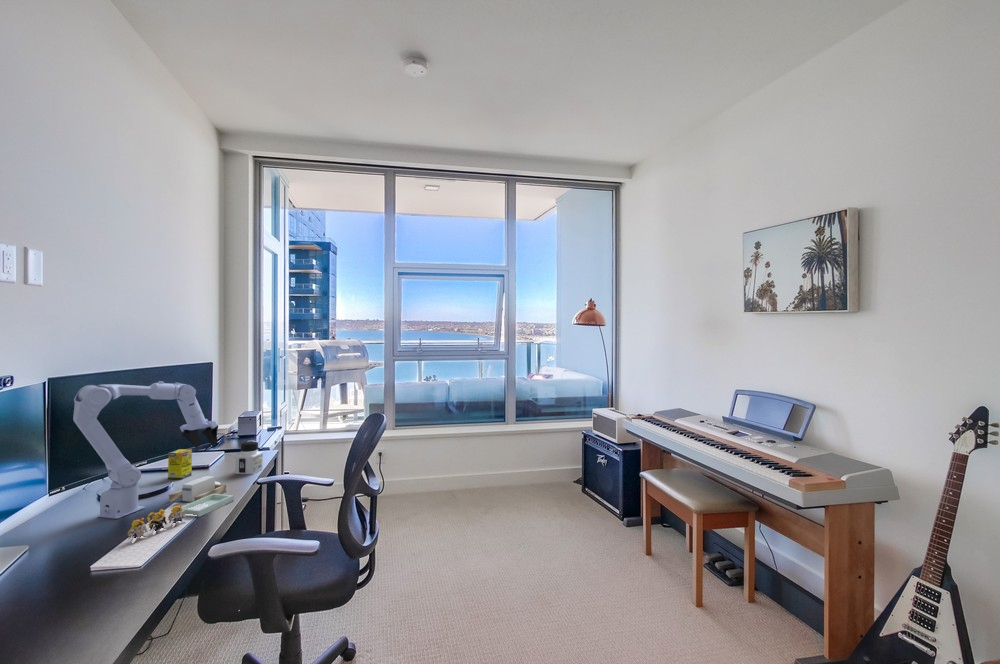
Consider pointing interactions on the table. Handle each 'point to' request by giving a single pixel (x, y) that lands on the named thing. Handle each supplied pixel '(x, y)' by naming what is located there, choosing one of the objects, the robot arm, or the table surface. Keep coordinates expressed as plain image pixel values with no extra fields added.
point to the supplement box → (179, 464)
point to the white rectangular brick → (198, 487)
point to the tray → (212, 501)
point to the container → (249, 458)
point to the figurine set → (156, 521)
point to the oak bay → (218, 490)
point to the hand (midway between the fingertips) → (206, 445)
